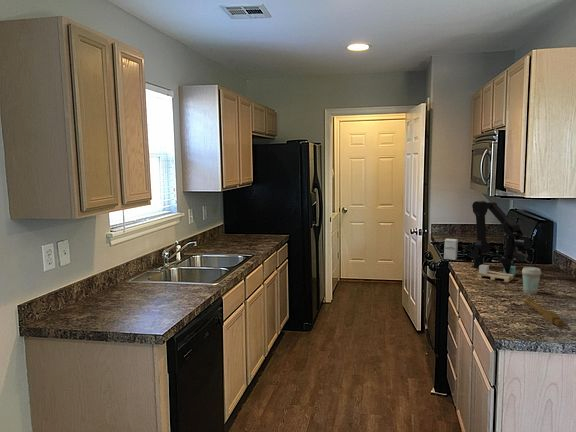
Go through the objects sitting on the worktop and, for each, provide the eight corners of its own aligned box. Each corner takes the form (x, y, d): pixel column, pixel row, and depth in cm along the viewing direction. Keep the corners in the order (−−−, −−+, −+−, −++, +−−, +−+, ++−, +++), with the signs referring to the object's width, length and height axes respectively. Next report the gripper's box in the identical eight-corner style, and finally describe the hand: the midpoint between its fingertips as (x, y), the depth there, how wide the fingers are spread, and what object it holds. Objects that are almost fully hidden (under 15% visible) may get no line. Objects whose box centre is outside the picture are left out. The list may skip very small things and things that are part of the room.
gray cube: (481, 271, 264) (481, 264, 263) (488, 272, 261) (489, 265, 261) (478, 272, 261) (479, 265, 260) (486, 274, 258) (486, 266, 258)
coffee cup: (528, 295, 227) (529, 271, 226) (516, 290, 236) (518, 267, 234) (544, 294, 228) (545, 270, 227) (532, 289, 237) (533, 266, 235)
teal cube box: (505, 273, 269) (506, 265, 268) (515, 275, 266) (515, 266, 265) (503, 275, 265) (503, 266, 265) (512, 276, 262) (513, 268, 261)
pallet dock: (482, 274, 268) (483, 269, 268) (513, 278, 258) (513, 274, 257) (477, 277, 261) (477, 272, 261) (508, 282, 251) (508, 277, 251)
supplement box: (443, 259, 307) (444, 239, 305) (445, 256, 313) (446, 238, 312) (455, 260, 303) (456, 240, 302) (457, 258, 310) (458, 238, 308)
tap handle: (531, 297, 215) (564, 320, 185) (531, 304, 215) (564, 328, 186) (524, 297, 215) (556, 320, 185) (524, 304, 215) (556, 327, 186)
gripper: (521, 250, 251) (520, 279, 253) (531, 245, 265) (529, 272, 267) (499, 247, 258) (498, 275, 260) (510, 242, 272) (508, 269, 274)
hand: (509, 273), depth 265 cm, fingers closed on teal cube box, 5 cm apart
